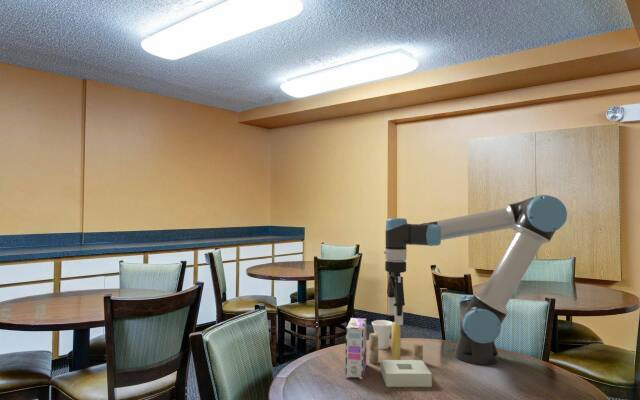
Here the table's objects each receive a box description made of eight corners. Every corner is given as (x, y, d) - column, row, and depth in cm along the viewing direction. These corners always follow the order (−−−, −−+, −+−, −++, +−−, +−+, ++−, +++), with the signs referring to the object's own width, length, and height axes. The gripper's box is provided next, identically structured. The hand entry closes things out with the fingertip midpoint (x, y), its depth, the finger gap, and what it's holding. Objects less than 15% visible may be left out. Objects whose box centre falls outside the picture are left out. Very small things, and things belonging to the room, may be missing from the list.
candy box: (363, 379, 134) (363, 328, 134) (345, 378, 135) (345, 327, 135) (366, 364, 147) (367, 317, 148) (350, 363, 148) (350, 317, 149)
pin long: (399, 360, 151) (399, 322, 151) (401, 364, 148) (401, 324, 148) (390, 360, 151) (390, 322, 151) (392, 364, 148) (392, 324, 148)
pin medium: (377, 360, 151) (377, 333, 151) (379, 364, 148) (378, 335, 148) (368, 360, 151) (368, 333, 151) (370, 364, 148) (370, 335, 148)
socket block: (421, 372, 140) (421, 360, 141) (431, 386, 128) (431, 373, 129) (380, 371, 140) (380, 360, 140) (386, 386, 128) (386, 373, 128)
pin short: (421, 361, 151) (421, 344, 151) (423, 364, 148) (423, 347, 148) (412, 361, 151) (412, 344, 151) (414, 364, 148) (414, 347, 148)
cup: (371, 350, 162) (371, 324, 163) (372, 343, 172) (372, 318, 172) (394, 351, 161) (394, 325, 161) (394, 344, 170) (393, 319, 170)
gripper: (380, 256, 163) (379, 311, 162) (391, 264, 138) (390, 329, 137) (399, 257, 163) (398, 311, 162) (414, 265, 138) (413, 329, 138)
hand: (395, 319), depth 150 cm, fingers open, 13 cm apart
